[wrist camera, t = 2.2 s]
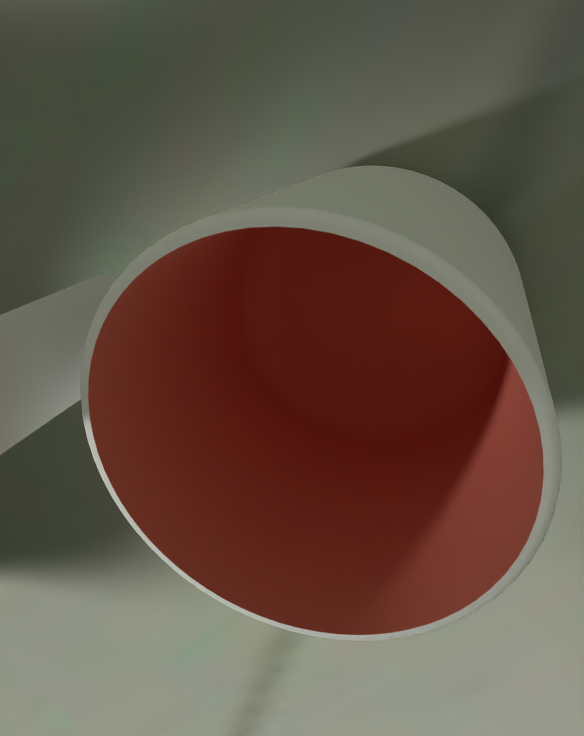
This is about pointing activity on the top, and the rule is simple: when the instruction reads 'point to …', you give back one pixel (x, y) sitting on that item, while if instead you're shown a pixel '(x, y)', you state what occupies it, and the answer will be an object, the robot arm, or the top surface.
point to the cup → (329, 406)
